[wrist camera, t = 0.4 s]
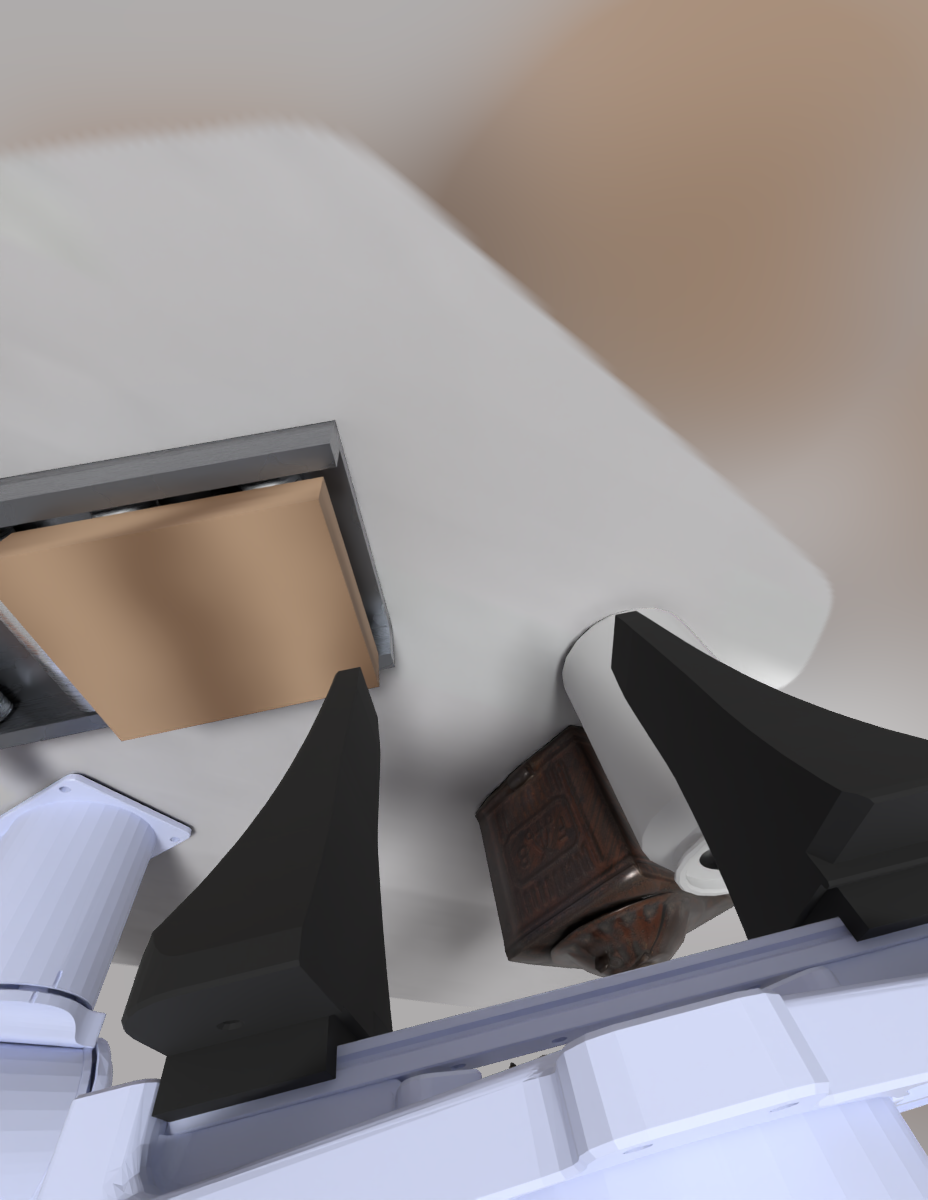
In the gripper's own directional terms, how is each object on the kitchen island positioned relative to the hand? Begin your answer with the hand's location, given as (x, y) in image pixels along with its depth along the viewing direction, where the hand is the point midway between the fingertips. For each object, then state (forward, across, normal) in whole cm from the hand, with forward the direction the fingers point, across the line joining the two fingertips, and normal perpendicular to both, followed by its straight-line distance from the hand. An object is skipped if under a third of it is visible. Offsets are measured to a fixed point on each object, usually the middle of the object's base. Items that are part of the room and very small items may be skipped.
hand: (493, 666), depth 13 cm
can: (+10, -9, +10) cm, 16 cm away
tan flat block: (+6, +9, 0) cm, 11 cm away
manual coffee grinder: (+10, -4, +24) cm, 26 cm away
